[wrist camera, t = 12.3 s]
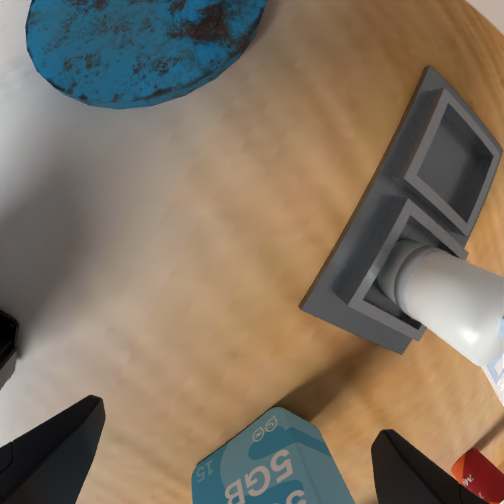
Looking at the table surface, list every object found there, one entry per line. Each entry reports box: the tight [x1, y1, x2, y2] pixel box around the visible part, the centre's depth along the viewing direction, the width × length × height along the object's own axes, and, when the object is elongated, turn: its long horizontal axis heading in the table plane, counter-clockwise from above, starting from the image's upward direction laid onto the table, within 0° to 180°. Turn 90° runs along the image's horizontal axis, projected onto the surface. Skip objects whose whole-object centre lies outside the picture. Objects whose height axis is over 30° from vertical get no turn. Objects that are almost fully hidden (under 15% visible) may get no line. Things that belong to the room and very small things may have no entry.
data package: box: [191, 407, 355, 504], centre depth 19 cm, size 12×4×12 cm, turn 136°
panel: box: [299, 66, 503, 355], centre depth 21 cm, size 11×21×2 cm, turn 150°
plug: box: [377, 239, 504, 366], centre depth 16 cm, size 5×5×12 cm
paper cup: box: [451, 449, 504, 504], centre depth 29 cm, size 8×8×14 cm
